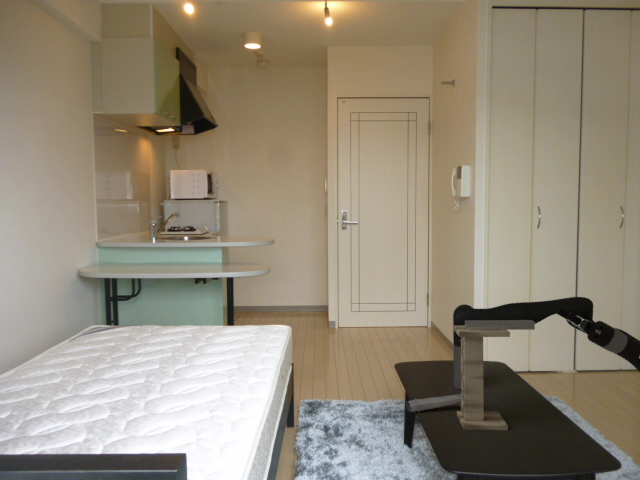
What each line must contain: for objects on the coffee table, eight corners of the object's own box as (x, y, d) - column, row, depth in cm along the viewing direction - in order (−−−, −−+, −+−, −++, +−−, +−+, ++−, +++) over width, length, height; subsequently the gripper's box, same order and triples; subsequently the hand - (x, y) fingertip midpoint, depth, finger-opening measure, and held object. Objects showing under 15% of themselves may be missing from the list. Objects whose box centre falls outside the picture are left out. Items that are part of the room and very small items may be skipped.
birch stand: (453, 414, 175) (453, 324, 173) (500, 415, 173) (500, 324, 172) (460, 429, 163) (460, 333, 161) (511, 430, 161) (510, 333, 160)
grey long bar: (464, 327, 168) (464, 320, 168) (531, 327, 166) (531, 320, 166) (466, 329, 166) (466, 322, 165) (534, 329, 164) (534, 321, 164)
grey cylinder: (405, 398, 181) (471, 386, 183) (407, 416, 181) (473, 403, 183) (408, 404, 176) (476, 391, 177) (411, 422, 176) (479, 409, 178)
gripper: (602, 322, 170) (560, 299, 171) (624, 332, 156) (578, 307, 157) (591, 341, 171) (549, 318, 171) (612, 353, 157) (566, 327, 157)
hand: (563, 313), depth 164 cm, fingers open, 8 cm apart
